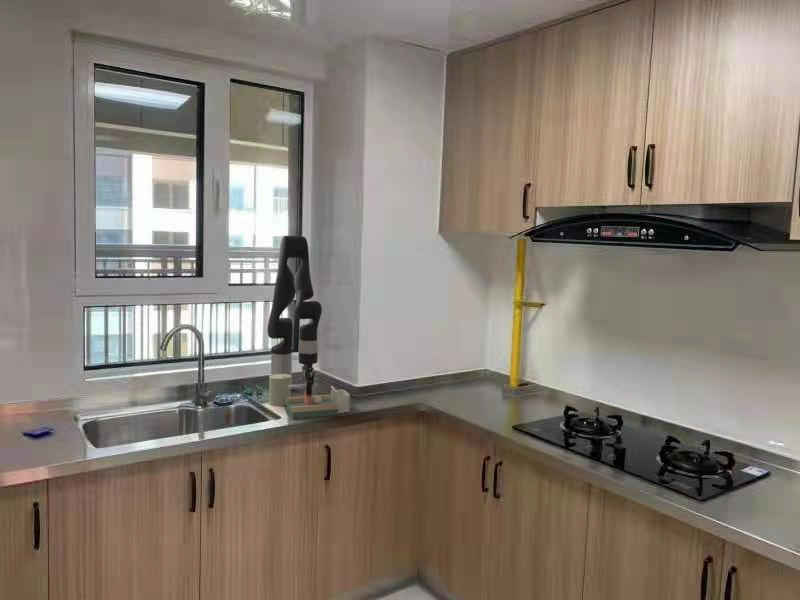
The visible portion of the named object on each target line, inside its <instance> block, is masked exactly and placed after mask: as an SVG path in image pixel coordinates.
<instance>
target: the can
mask: <svg viewBox="0 0 800 600" xmlns="http://www.w3.org/2000/svg"><path fill="white" fill-rule="evenodd" d="M268 383H269V386H268V387H269V389H268V390H269V392H268V393H269V396H268V397H269V402H268V404H269V405H271V406H275V407H279V406H280V407H282V406H283V407H284V406H286V398H291V396H292V395H291V394H292V392H291V391H292V390H291V389H288V385H291V375H288V374H274V375H271V374H270V375H269V376H268Z"/></svg>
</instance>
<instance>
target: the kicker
mask: <svg viewBox="0 0 800 600" xmlns="http://www.w3.org/2000/svg"><path fill="white" fill-rule="evenodd" d="M318 387H319V383H314V384H313V385H312V388H318ZM304 388H305V392H304V393H303V397H304V404H305V405H306V406H309V405H312V397H311V396H312V394H311V395H306V382H305V383H304V384H303V383H302V384H292V385H288V389H304Z"/></svg>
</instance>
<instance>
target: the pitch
mask: <svg viewBox="0 0 800 600" xmlns="http://www.w3.org/2000/svg"><path fill="white" fill-rule="evenodd" d="M314 396H315V395H311V397H312V398H313V397H314ZM319 396H320V397H321V399H322V402H321V404H320V405H314V404H313V403H312V405H309V406H306V405H305V404H304V396H294V397H291V398H286V405H285V408H286V410H287V412H288V414H289V415H290V418H291V419H292V418H297V419H306V418H305V417H309V418H317V417H316V416H321V417H328V416H327V415H333V416H338V415H339V413H338V403H336V404H333V403H332V402H331V394H323V395H319Z"/></svg>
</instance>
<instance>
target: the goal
mask: <svg viewBox="0 0 800 600" xmlns="http://www.w3.org/2000/svg"><path fill="white" fill-rule="evenodd" d="M330 389H331V390H330V401H331V402H332V403H333V404H336V403H338V414H345V413H344V412H349V413H351V394H350V393H348V391H346V390H345V389H336V388H335V387H334V386H333V385H331V386H330Z"/></svg>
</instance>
